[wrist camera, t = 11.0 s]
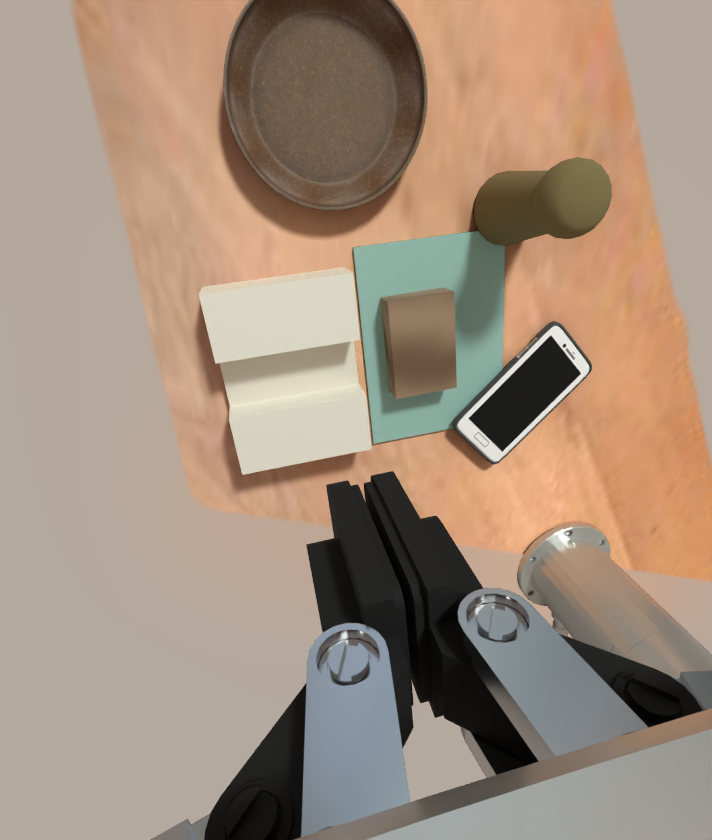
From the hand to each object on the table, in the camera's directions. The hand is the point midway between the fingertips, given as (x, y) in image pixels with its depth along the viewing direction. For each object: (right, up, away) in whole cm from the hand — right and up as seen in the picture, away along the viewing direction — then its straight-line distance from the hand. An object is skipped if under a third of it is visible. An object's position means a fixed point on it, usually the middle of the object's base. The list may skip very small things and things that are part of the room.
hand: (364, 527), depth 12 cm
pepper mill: (+13, +21, +31) cm, 40 cm away
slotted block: (-6, +8, +32) cm, 34 cm away
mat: (+7, +10, +34) cm, 36 cm away
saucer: (-3, +27, +25) cm, 37 cm away
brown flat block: (+6, +9, +31) cm, 33 cm away
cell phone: (+17, +5, +38) cm, 42 cm away
